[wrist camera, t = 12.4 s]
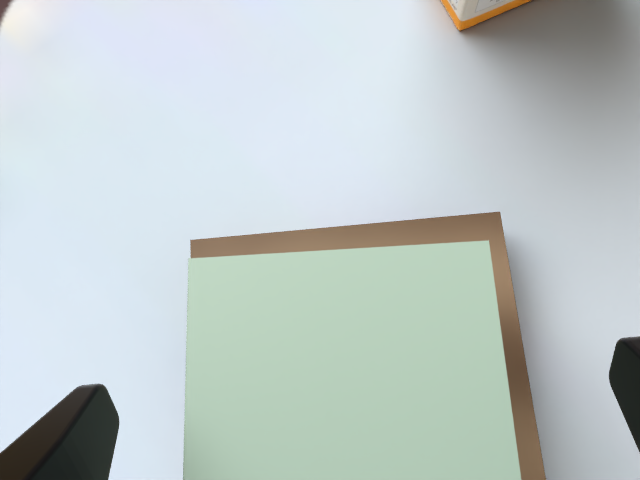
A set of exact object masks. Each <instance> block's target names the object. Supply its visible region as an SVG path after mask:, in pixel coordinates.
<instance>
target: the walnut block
mask: <svg viewBox="0 0 640 480" xmlns="http://www.w3.org/2000/svg"><path fill="white" fill-rule="evenodd" d="M488 240H489V245H490V252H491V260H492V267H493V275H494V282H495V289H496V297H497V304H498V311H499V319H500V326H501V333H502V341H503V348H504V356H505V363H506V370H507V378H508V385H509V392H510V400H511V407H512V415H513V422H514V429H515V437H516V444H517V451H518V459H519V466H520V473H521V480H546V478H545V472H544V466H543V460H542V454H541V449H540V443H539V437H538V431H537V425H536V419H535V413H534V408H533V402H532V396H531V390H530V384H529V378H528V373H527V367H526V361H525V355H524V349H523V343H522V338H521V332H520V326H519V320H518V314H517V308H516V303H515V297H514V291H513V285H512V279H511V273H510V268H509V262H508V256H507V250H506V244H505V238H504V233H503V227H502V221H501V215H500V212H492V213H481V214H470V215H459V216H448V217H437V218H426V219H415V220H404V221H394V222H383V223H372V224H361V225H350V226H339V227H328V228H317V229H306V230H295V231H284V232H274V233H263V234H252V235H241V236H230V237H219V238H208V239H197V240H191V258H205V257H222V256H238V255H255V254H272V253H288V252H305V251H322V250H338V249H355V248H372V247H388V246H405V245H421V244H438V243H455V242H471V241H488Z"/></svg>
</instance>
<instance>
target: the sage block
mask: <svg viewBox="0 0 640 480" xmlns="http://www.w3.org/2000/svg"><path fill="white" fill-rule="evenodd" d="M183 480H521V473H520V466H519V459H518V451H517V444H516V437H515V429H514V422H513V415H512V407H511V400H510V392H509V385H508V378H507V370H506V363H505V356H504V348H503V341H502V333H501V326H500V319H499V311H498V304H497V297H496V289H495V282H494V275H493V267H492V260H491V252H490V245H489V240H488V241H471V242H455V243H438V244H421V245H405V246H388V247H372V248H355V249H338V250H322V251H305V252H288V253H272V254H255V255H238V256H222V257H205V258H189V261H188V301H187V341H186V381H185V422H184V462H183Z"/></svg>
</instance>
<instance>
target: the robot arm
mask: <svg viewBox="0 0 640 480" xmlns="http://www.w3.org/2000/svg"><path fill="white" fill-rule="evenodd" d="M609 380H610V385H611V387H612V390H613V392H614V394H615V397H616V399H617V401H618V404H619V406H620V408H621V411H622V413H623V415H624V417H625V420H626V422H627V424H628V427H629V429H630V431H631V434H632V436H633V438H634V440H635V443H636V445H637V447H638V450H639V452H640V336H639V337H628V338H622V339H620V340H619V341H618V342H617V344H616V347H615V351H614V355H613V359H612V363H611V367H610V371H609ZM118 429H119V416H118V413H117V411H116V408H115V406H114V404H113V402H112V400H111V397H110V395H109V393H108V391H107V389H106V387H105V386H104V385H102V384H90V385H82V386H79V387H77V388H76V389H74V390H73V391H72V392H71V393H70V394H69V395H67V396H66V397H65V398H64V399H63V400H62V401H60V402H59V403H58V404H57V405H56V406H55V407H53V408H52V409H51V410H50V411H49V412H48V413H46V414H45V415H44V416H43V417H42V418H41V419H39V420H38V421H37V422H36V423H35V424H34V425H32V426H31V427H30V428H29V429H28V430H27V431H25V432H24V433H23V434H22V435H21V436H20V437H18V438H17V439H16V440H15V441H14V442H13V443H11V444H10V445H9V446H8V447H7V448H6V449H4V450H3V451H2V452H1V453H0V480H108V477H109V473H110V468H111V463H112V458H113V453H114V448H115V444H116V439H117V434H118Z"/></svg>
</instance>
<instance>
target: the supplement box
mask: <svg viewBox="0 0 640 480" xmlns="http://www.w3.org/2000/svg"><path fill="white" fill-rule="evenodd" d="M529 1H531V0H441V2H442V4H443V5H444V7H445V9H446V11H447V12H448V13H449V16H450V17H451V19H452V20H453V22H454V24H455V26H456V27H457V29H458V30H459V31H461V30H463V29H466V28H469V27H471V26H474V25H476V24H477V23H479V22H483V21H485V20H487V19H489V18H491V17H494V16H497V15H499V14H501V13H503V12H505V11H508V10H511V9H513V8H515V7H518V6H520V5H522V4H524V3H526V2H529Z"/></svg>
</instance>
